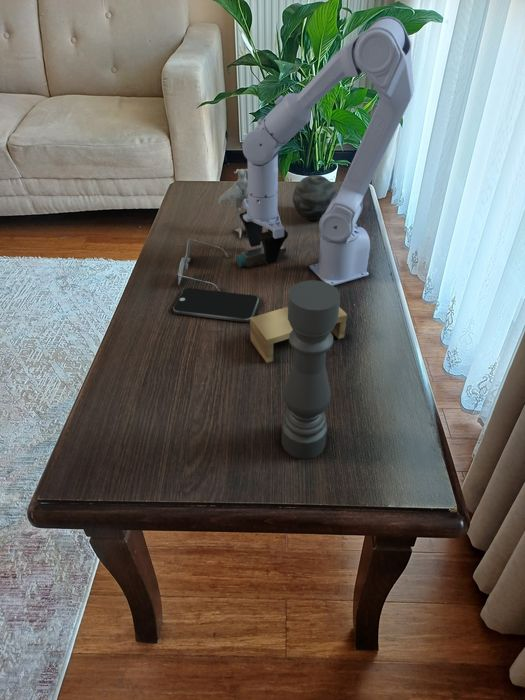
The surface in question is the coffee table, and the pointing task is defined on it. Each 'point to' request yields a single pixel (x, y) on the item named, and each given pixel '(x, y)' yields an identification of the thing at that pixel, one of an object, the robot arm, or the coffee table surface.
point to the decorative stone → (313, 196)
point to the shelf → (281, 330)
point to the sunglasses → (189, 261)
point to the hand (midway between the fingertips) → (263, 253)
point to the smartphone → (216, 305)
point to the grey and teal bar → (256, 257)
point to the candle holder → (309, 367)
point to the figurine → (237, 193)
